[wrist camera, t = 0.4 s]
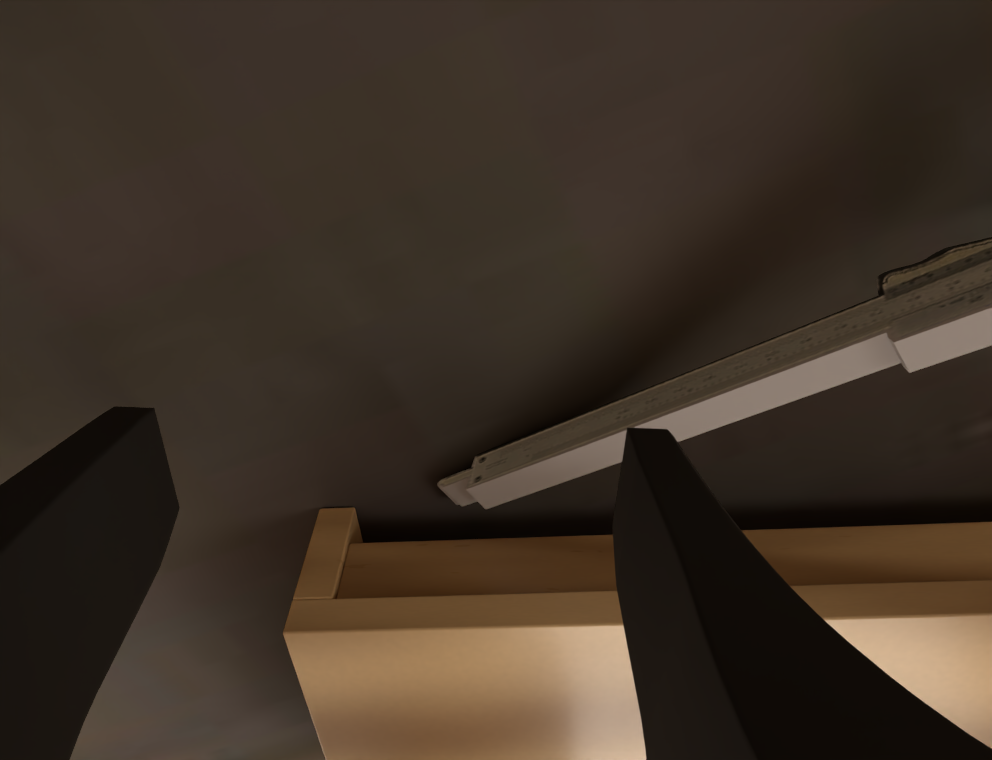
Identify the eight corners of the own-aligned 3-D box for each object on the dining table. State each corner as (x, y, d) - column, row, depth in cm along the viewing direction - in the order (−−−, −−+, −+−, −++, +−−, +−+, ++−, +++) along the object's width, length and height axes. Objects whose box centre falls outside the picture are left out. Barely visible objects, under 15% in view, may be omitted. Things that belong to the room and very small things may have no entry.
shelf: (1055, 680, 31) (1138, 814, 26) (368, 694, 32) (346, 822, 28) (1156, 477, 25) (1281, 606, 21) (319, 507, 27) (281, 633, 23)
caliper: (1137, 93, 19) (1370, 197, 14) (1148, 132, 19) (1378, 247, 14) (437, 475, 26) (415, 639, 21) (458, 496, 26) (442, 662, 21)
